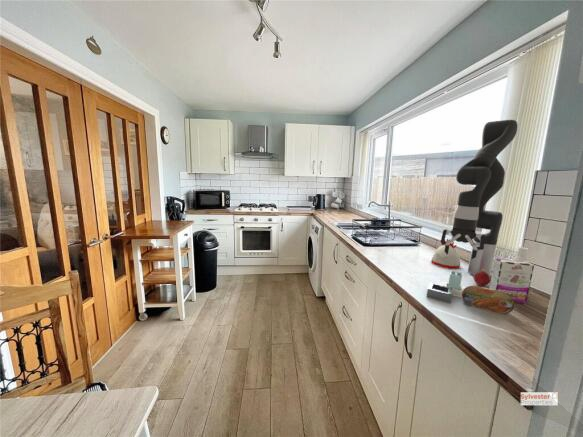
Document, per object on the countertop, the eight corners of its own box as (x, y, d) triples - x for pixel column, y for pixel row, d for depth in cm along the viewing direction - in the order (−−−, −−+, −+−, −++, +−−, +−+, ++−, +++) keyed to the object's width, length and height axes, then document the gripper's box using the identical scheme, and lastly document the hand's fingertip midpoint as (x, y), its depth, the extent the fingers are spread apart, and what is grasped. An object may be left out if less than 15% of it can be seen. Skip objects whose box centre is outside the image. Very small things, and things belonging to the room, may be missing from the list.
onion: (491, 290, 105) (494, 273, 103) (476, 288, 106) (480, 271, 104) (483, 284, 110) (486, 268, 109) (469, 282, 111) (472, 266, 110)
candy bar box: (517, 298, 98) (526, 260, 95) (526, 304, 93) (535, 264, 91) (486, 294, 101) (494, 257, 98) (494, 299, 96) (501, 261, 93)
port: (428, 290, 101) (430, 281, 101) (450, 296, 97) (452, 286, 96) (426, 297, 95) (427, 287, 94) (449, 304, 90) (451, 294, 90)
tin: (460, 305, 90) (464, 285, 89) (459, 301, 93) (463, 281, 92) (512, 317, 83) (517, 295, 82) (509, 313, 86) (514, 292, 85)
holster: (443, 287, 105) (444, 281, 104) (463, 292, 101) (464, 286, 100) (442, 293, 99) (443, 286, 99) (463, 299, 95) (464, 292, 95)
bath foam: (526, 292, 104) (536, 248, 100) (523, 296, 99) (534, 251, 96) (505, 286, 109) (514, 244, 106) (502, 290, 105) (511, 247, 101)
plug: (447, 288, 103) (451, 268, 101) (458, 291, 100) (462, 271, 99) (447, 292, 100) (450, 271, 98) (458, 295, 97) (462, 274, 96)
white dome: (438, 258, 145) (441, 235, 143) (463, 266, 134) (468, 240, 132) (426, 262, 137) (430, 237, 135) (453, 270, 126) (457, 243, 124)
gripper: (488, 218, 93) (480, 258, 96) (445, 214, 102) (439, 250, 104) (489, 221, 87) (481, 262, 90) (444, 216, 96) (438, 254, 98)
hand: (459, 256), depth 97 cm, fingers open, 8 cm apart
